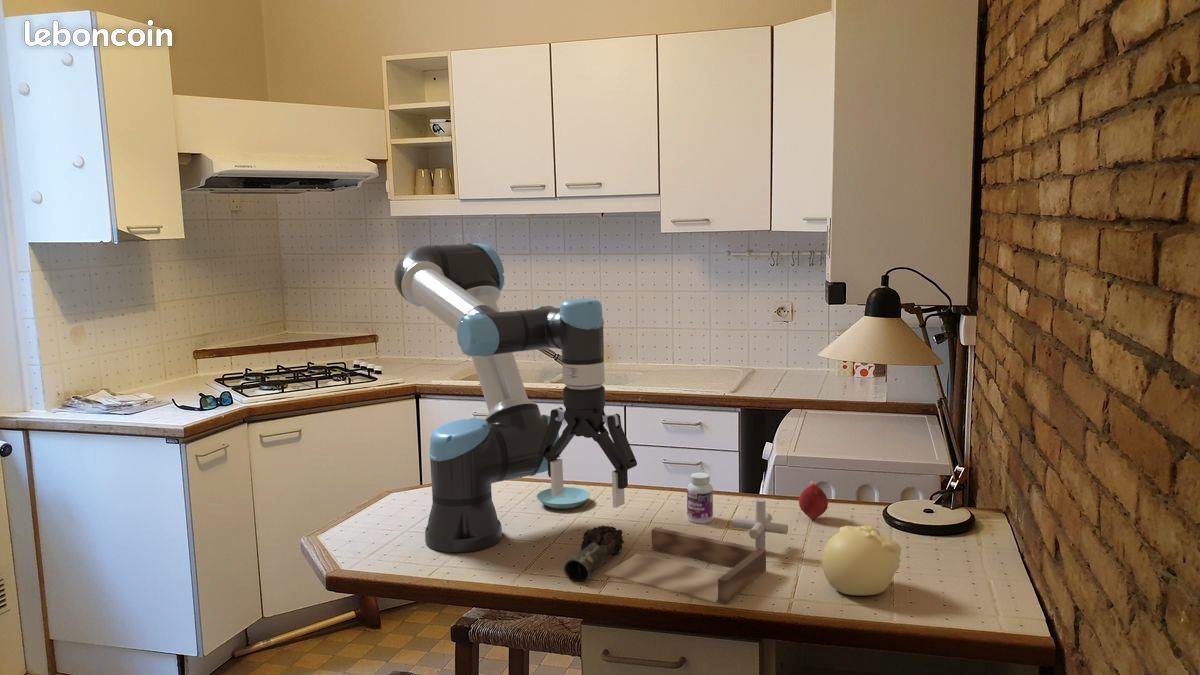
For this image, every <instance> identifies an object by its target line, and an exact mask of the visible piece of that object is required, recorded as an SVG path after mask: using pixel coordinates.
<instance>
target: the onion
mask: <svg viewBox="0 0 1200 675" xmlns="http://www.w3.org/2000/svg"><path fill="white" fill-rule="evenodd" d="M798 504H799V508H800V510H801V511H802V512H803V513H804V514H805V515H806V516H807V517H808V518H809V519H810V520H815V519H817V518H819V517H820V516H822V515H823V514H825V512H826V511H827V509H828V505H829V501H828V497H827V495H826V493H825V492H824V491H823V489H822V488H821V487H819V486H818V485H817V484H815V482H814V481H810V484H809V486H808V487H806V488H804V489H803V490H802V491H801V493H800V495H799V499H798Z"/></svg>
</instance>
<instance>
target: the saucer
mask: <svg viewBox="0 0 1200 675" xmlns="http://www.w3.org/2000/svg"><path fill="white" fill-rule="evenodd" d="M590 496H591V494H590V492H589V491H587V490H585V489H583V488H579V487H571V486H569V487H568V486H563V493H562V494H560V495H558V496H555V497H554V496H552V492H551V488H547V489H543V490H541V491H539V492H538V493H537V494H536V496H535V497H536V499H537V500H538V501H540V502H541V503H542V504H543V505H545V506H546V507H548V508H550V507H551V509H554V508H555V509H556V510H569V509H568V508H570V509H574V508H576V507H579V506H580V505H582V504H584V503H585V502H586V501H587V500H588V499H589V498H590ZM555 509H554V510H555Z"/></svg>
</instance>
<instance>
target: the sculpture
mask: <svg viewBox="0 0 1200 675" xmlns="http://www.w3.org/2000/svg"><path fill="white" fill-rule="evenodd" d="M838 530H839V531H838V532H837V533H835V534H834V535H833V536H831V538H830V539H829V540H828V542H827V543H826V545H825V547H824V549H823V553H822V557H821V566H822V571H823V574H824V576H825V578H826V580H827V582H828V583H829V585H830V586H831V587H832V588H834V589H835V590H836V591H838V592H840V593H842V594H845V595H849V596H850V595H851V596H873V595H878V594H881V593H882V592H884V591H885V590H886V589H887V588H888V587H889V585H890V584H891V582H892V580H893V578H894V576H895V574H896V572H897V571H898V570H899V569H900V565H901V564H900V563H901V559H900V557H901V554H902V549H901V546H900V545H899V543H898V542H896V541H894V540H892V539H891V538H888V537H887V536H885V535H884V534H881V533H880V531H879V530H878V529H877V528H875V527H873V526H872V525H863V526H862V525H861V526H859V525H858V526H857V525H856V526H855V525H844V526H840V527H839V529H838Z"/></svg>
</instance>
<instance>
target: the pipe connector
mask: <svg viewBox="0 0 1200 675" xmlns="http://www.w3.org/2000/svg"><path fill="white" fill-rule="evenodd" d="M766 504H767V503H766V499H764V498H756V499H755V519H748V518H747V519H746V518H739V517H734V518H733V522H732V523H733V528H735V529H743V530H749V532H748V535H749V537H750V538H751V539H753V540H755V548H759V549H764V550H766V533H773V534H780V535H781V534H782V535H788V531H789V525H788V524H787V523H786V524H785V523H777V522H771V521H772V519H773V516H772V514H771V513H769V512H766V506H767V505H766Z"/></svg>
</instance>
